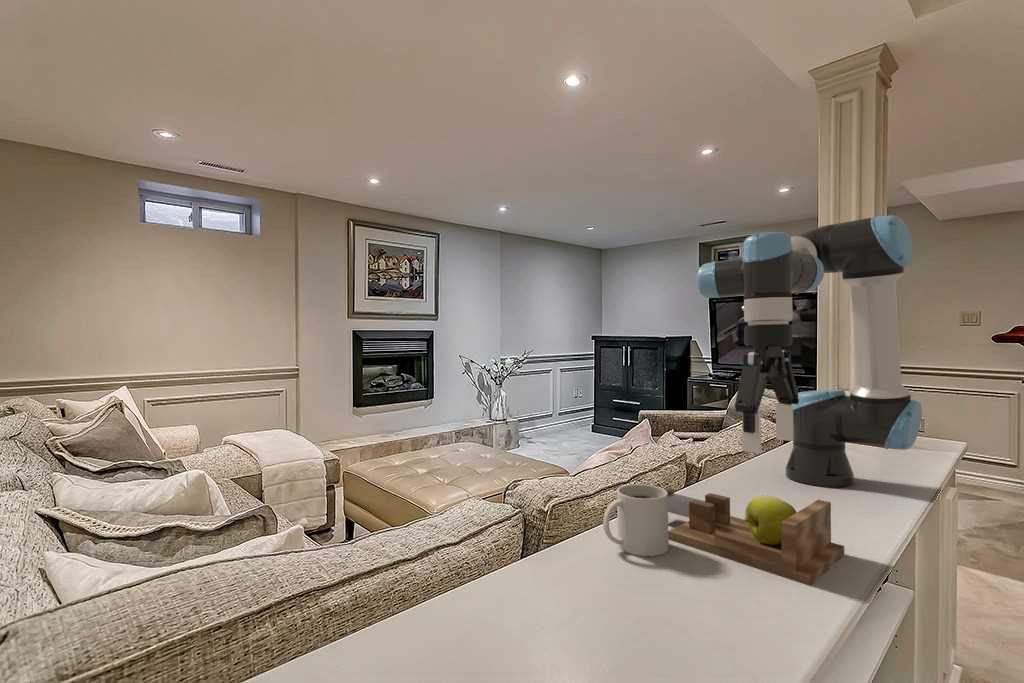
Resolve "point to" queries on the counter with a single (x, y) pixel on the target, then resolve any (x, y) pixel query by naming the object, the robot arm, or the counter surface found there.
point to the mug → (640, 520)
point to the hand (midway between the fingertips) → (769, 445)
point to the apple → (767, 518)
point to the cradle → (731, 538)
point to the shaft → (679, 503)
